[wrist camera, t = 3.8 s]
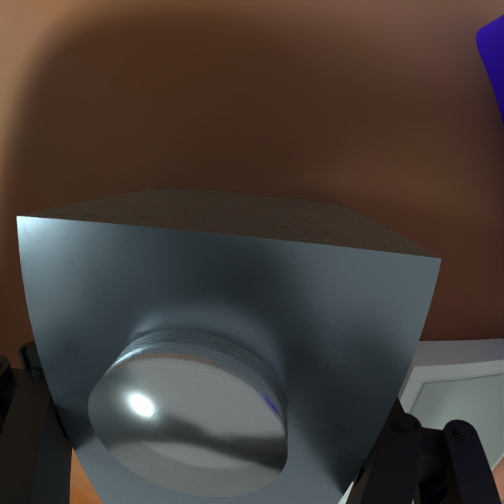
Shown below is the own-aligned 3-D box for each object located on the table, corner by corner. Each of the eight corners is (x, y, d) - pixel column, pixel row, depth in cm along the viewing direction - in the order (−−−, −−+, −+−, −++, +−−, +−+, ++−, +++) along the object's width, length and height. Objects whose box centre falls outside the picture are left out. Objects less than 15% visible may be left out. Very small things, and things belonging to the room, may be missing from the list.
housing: (166, 402, 17) (105, 538, 7) (162, 187, 14) (-25, 227, 4) (297, 419, 16) (302, 572, 6) (339, 203, 13) (480, 282, 3)
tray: (314, 518, 20) (315, 539, 17) (397, 340, 15) (414, 368, 12) (445, 497, 19) (451, 514, 17) (549, 334, 14) (568, 349, 11)
